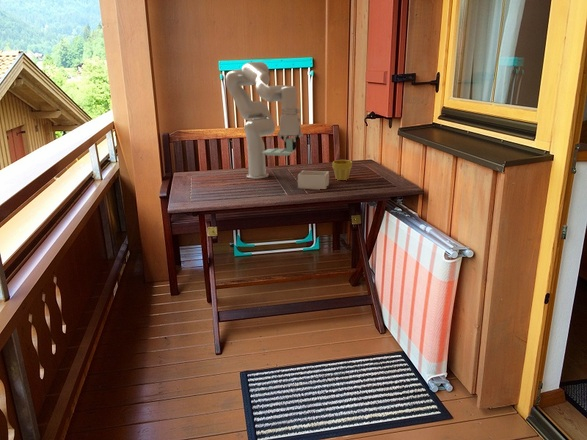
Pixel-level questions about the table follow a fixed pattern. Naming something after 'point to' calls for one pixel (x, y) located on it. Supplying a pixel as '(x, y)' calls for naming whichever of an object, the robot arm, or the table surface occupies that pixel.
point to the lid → (281, 152)
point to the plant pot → (342, 169)
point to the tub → (313, 179)
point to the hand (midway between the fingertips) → (290, 149)
